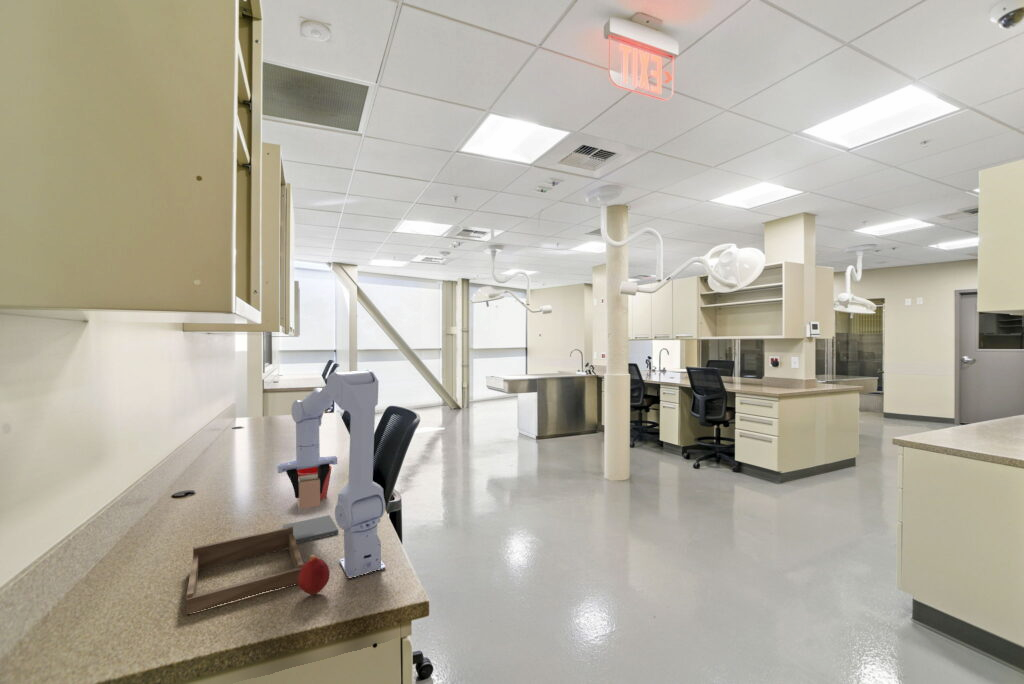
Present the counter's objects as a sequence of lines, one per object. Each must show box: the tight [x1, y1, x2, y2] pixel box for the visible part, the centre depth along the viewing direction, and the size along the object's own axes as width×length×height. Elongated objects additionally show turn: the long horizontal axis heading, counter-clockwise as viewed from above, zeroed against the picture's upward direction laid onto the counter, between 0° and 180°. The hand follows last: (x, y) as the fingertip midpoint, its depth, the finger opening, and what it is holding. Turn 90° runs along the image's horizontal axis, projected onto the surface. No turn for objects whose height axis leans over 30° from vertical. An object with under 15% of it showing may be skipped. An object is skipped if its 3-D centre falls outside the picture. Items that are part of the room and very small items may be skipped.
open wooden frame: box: [185, 526, 304, 616], centre depth 95 cm, size 20×20×5 cm
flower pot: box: [297, 465, 332, 501], centre depth 143 cm, size 11×11×10 cm
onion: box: [297, 554, 330, 596], centre depth 88 cm, size 6×6×8 cm
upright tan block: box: [296, 474, 321, 510], centre depth 117 cm, size 5×5×7 cm
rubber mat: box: [282, 514, 339, 544], centre depth 117 cm, size 12×12×1 cm
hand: (308, 494), depth 117 cm, fingers closed on upright tan block, 5 cm apart
